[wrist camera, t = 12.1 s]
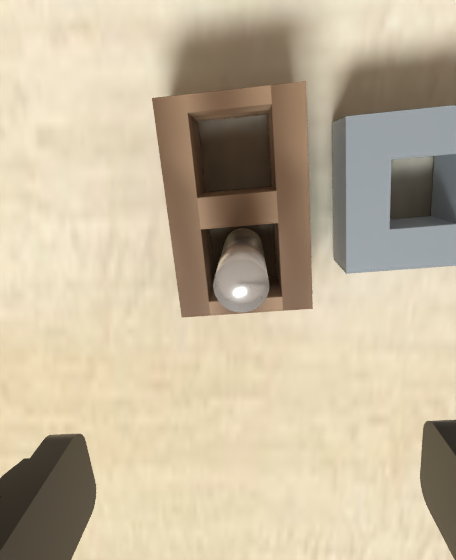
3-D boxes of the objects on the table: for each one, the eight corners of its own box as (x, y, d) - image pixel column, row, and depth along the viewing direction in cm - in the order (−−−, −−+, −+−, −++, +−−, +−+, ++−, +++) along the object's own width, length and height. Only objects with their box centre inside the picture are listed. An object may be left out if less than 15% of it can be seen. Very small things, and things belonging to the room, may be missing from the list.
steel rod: (261, 226, 30) (267, 257, 20) (263, 264, 30) (270, 310, 21) (222, 229, 30) (210, 261, 20) (226, 267, 31) (216, 314, 21)
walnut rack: (295, 95, 27) (305, 81, 22) (302, 286, 31) (312, 308, 26) (168, 109, 27) (152, 98, 23) (191, 293, 31) (181, 317, 27)
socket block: (479, 107, 26) (518, 98, 23) (466, 249, 29) (499, 262, 25) (332, 122, 27) (345, 116, 23) (333, 259, 30) (346, 273, 26)
